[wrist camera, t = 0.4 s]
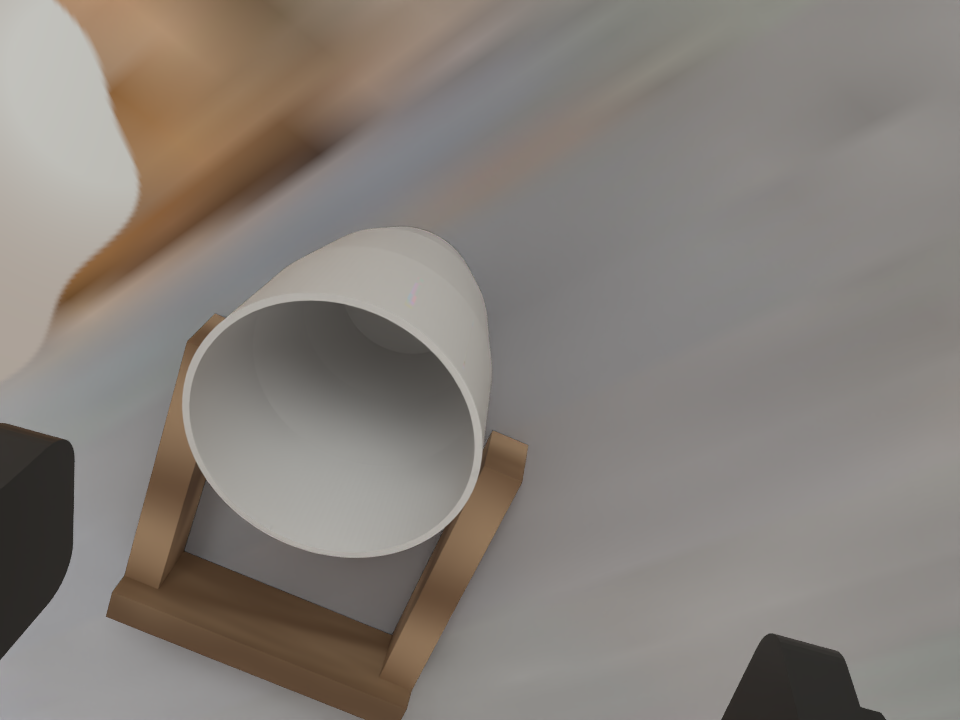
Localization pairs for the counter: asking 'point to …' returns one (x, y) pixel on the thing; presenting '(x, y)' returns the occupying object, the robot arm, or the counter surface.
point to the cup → (348, 396)
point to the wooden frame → (284, 617)
